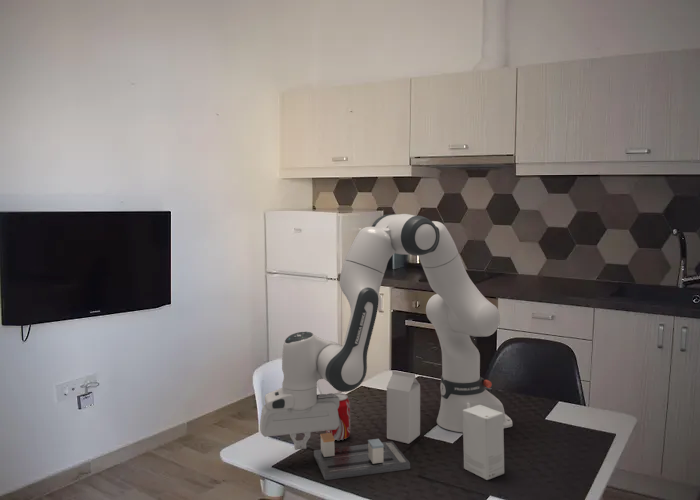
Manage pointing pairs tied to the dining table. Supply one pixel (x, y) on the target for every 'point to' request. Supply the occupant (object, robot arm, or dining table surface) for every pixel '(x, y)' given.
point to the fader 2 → (375, 451)
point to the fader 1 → (327, 444)
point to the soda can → (342, 418)
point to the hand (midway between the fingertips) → (300, 448)
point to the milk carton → (403, 407)
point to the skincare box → (483, 441)
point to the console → (360, 461)
